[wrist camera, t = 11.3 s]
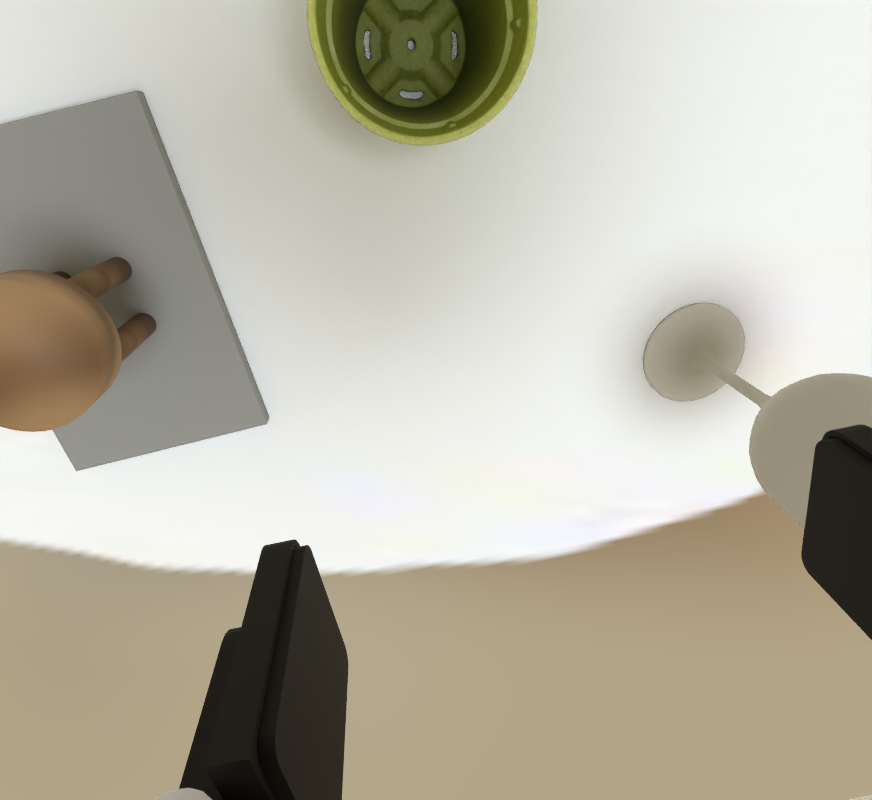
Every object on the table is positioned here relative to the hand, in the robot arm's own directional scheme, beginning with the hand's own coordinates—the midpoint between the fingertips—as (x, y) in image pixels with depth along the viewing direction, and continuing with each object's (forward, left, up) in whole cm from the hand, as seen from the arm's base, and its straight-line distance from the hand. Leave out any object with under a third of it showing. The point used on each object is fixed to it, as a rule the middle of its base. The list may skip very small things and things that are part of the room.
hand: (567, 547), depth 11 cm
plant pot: (-11, +2, -29) cm, 31 cm away
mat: (-2, -19, -28) cm, 34 cm away
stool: (-2, -19, -27) cm, 34 cm away
